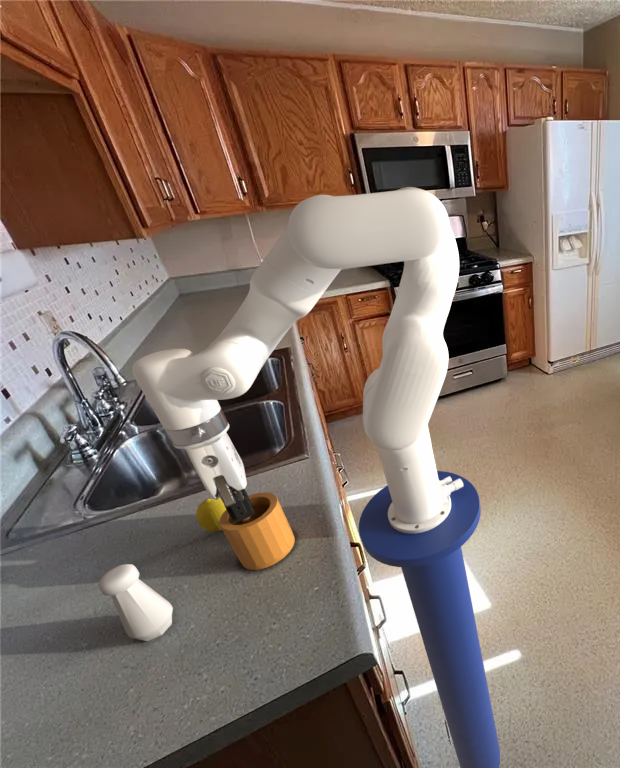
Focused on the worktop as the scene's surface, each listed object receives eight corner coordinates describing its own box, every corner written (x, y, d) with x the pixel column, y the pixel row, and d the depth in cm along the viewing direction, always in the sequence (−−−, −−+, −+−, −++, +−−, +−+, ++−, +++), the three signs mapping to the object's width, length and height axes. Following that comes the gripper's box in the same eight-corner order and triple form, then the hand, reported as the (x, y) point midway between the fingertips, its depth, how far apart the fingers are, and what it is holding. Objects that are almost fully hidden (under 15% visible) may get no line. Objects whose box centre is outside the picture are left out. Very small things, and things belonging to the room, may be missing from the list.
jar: (290, 523, 84) (273, 485, 80) (299, 552, 77) (281, 512, 73) (239, 546, 80) (218, 507, 75) (243, 579, 73) (220, 539, 68)
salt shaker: (175, 634, 65) (134, 579, 59) (130, 654, 62) (82, 599, 56) (180, 604, 69) (142, 550, 63) (138, 622, 67) (95, 568, 61)
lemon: (200, 541, 82) (182, 511, 78) (217, 520, 87) (201, 491, 83) (228, 539, 82) (211, 509, 78) (243, 518, 87) (228, 488, 83)
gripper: (228, 439, 60) (273, 530, 69) (223, 400, 72) (261, 481, 80) (166, 461, 57) (221, 554, 65) (171, 415, 68) (217, 499, 77)
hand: (243, 513), depth 73 cm, fingers closed
